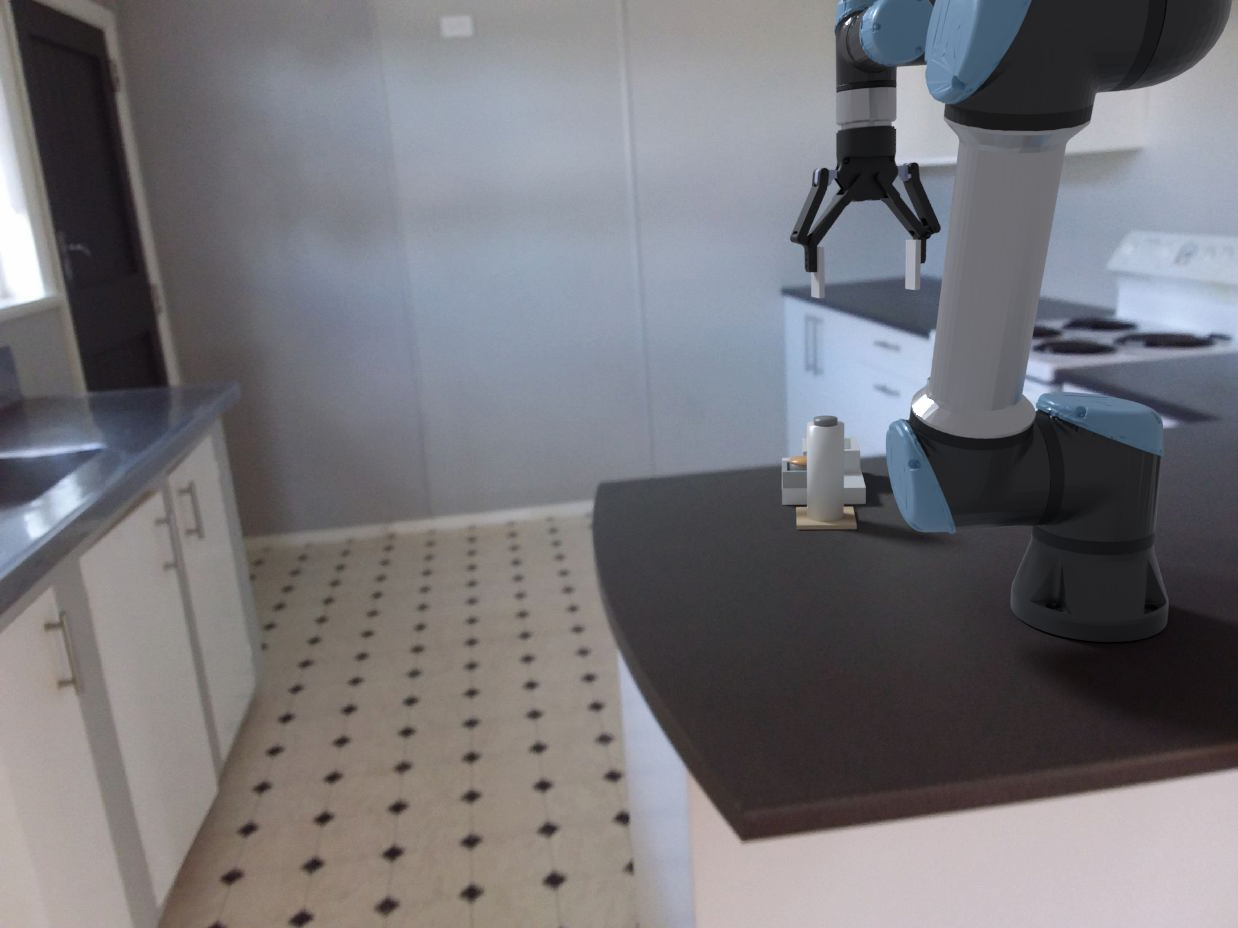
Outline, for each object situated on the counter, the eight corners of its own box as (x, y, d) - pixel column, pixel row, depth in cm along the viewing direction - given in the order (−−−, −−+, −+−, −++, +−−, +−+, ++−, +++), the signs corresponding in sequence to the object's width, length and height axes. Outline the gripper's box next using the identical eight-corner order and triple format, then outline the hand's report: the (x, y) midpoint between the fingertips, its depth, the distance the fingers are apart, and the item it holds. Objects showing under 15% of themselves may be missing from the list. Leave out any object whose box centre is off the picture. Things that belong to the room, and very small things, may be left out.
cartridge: (851, 515, 140) (852, 417, 136) (828, 524, 137) (828, 424, 133) (822, 507, 144) (822, 412, 140) (799, 516, 141) (799, 419, 137)
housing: (865, 503, 146) (865, 464, 145) (782, 504, 148) (781, 465, 147) (857, 471, 162) (857, 435, 161) (782, 472, 164) (781, 437, 163)
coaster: (856, 529, 136) (856, 525, 136) (796, 529, 137) (796, 525, 137) (852, 510, 144) (852, 506, 144) (796, 511, 145) (796, 507, 145)
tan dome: (817, 482, 148) (817, 462, 147) (790, 482, 148) (789, 463, 148) (816, 474, 151) (816, 455, 151) (789, 475, 152) (789, 456, 151)
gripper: (940, 124, 135) (937, 284, 140) (763, 133, 130) (767, 298, 136) (970, 119, 128) (965, 287, 133) (784, 129, 123) (787, 303, 128)
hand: (865, 293), depth 134 cm, fingers open, 13 cm apart
